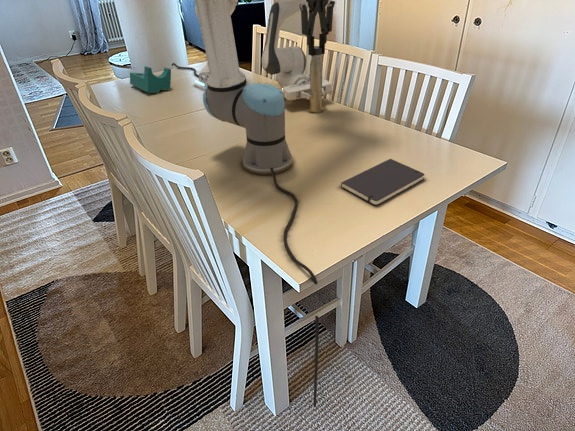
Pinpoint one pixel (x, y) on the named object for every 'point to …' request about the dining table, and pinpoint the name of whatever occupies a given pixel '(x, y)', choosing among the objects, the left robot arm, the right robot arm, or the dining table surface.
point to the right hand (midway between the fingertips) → (316, 54)
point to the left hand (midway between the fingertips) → (317, 95)
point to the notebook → (382, 181)
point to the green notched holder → (151, 80)
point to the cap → (317, 50)
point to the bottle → (316, 84)
